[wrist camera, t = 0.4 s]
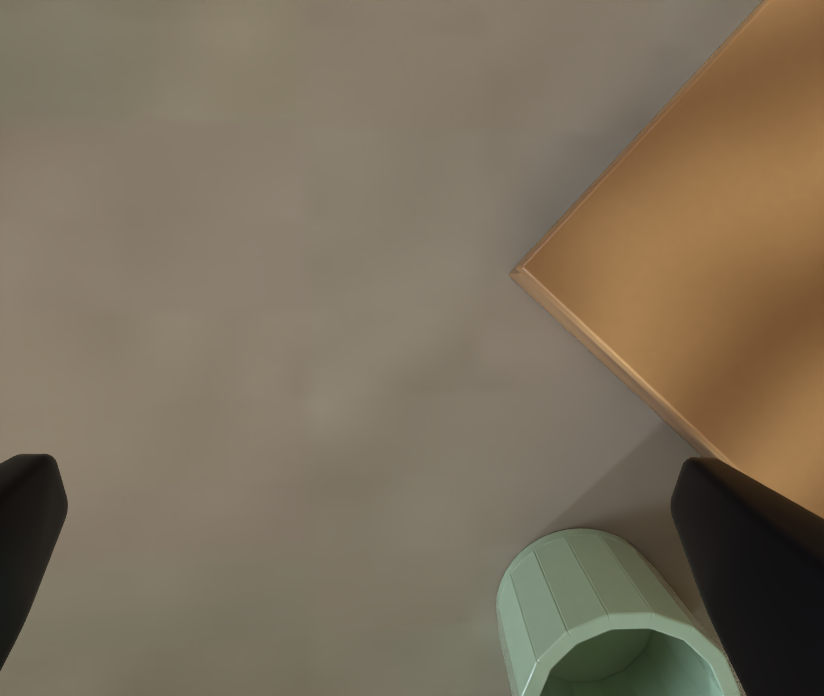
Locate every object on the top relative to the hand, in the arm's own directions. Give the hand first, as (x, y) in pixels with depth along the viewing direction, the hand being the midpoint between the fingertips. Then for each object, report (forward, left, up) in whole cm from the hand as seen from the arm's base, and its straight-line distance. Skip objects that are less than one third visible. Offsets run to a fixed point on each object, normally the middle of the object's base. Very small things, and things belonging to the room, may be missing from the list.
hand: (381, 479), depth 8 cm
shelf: (-7, -9, -13) cm, 17 cm away
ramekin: (-11, +3, -13) cm, 17 cm away
